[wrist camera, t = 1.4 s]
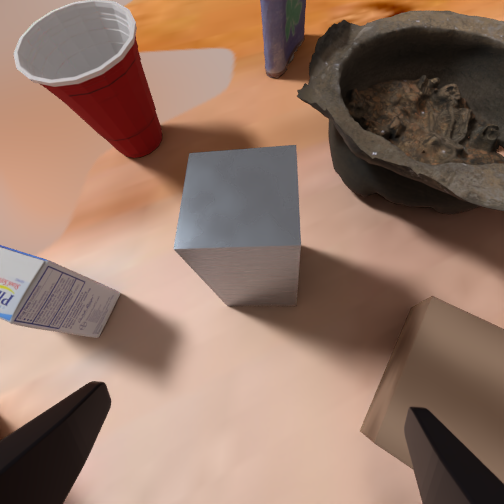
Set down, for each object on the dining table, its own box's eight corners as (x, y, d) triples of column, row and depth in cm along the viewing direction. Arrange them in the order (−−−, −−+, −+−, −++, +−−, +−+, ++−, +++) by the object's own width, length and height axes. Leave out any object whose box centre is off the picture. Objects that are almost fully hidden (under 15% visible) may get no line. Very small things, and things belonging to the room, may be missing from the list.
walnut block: (522, 539, 16) (589, 588, 12) (358, 429, 19) (374, 442, 16) (557, 381, 19) (620, 383, 15) (409, 308, 22) (432, 295, 18)
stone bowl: (258, 193, 28) (249, 110, 20) (356, 67, 37) (376, -26, 29) (542, 315, 20) (720, 258, 12) (580, 116, 28) (697, 5, 20)
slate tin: (296, 305, 23) (300, 245, 12) (227, 305, 24) (173, 249, 13) (294, 242, 25) (296, 144, 15) (231, 244, 26) (189, 153, 15)
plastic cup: (121, 192, 31) (28, 93, 20) (88, 141, 35) (-3, 37, 24) (199, 142, 32) (153, 26, 22) (159, 99, 37) (103, -16, 26)
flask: (280, 80, 35) (276, -44, 25) (258, 76, 36) (245, -45, 26) (308, 35, 38) (314, -91, 28) (287, 33, 39) (286, -91, 29)
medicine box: (123, 293, 26) (49, 257, 18) (99, 340, 24) (7, 324, 16) (59, 272, 28) (-33, 232, 20) (33, 315, 26) (-79, 289, 18)
